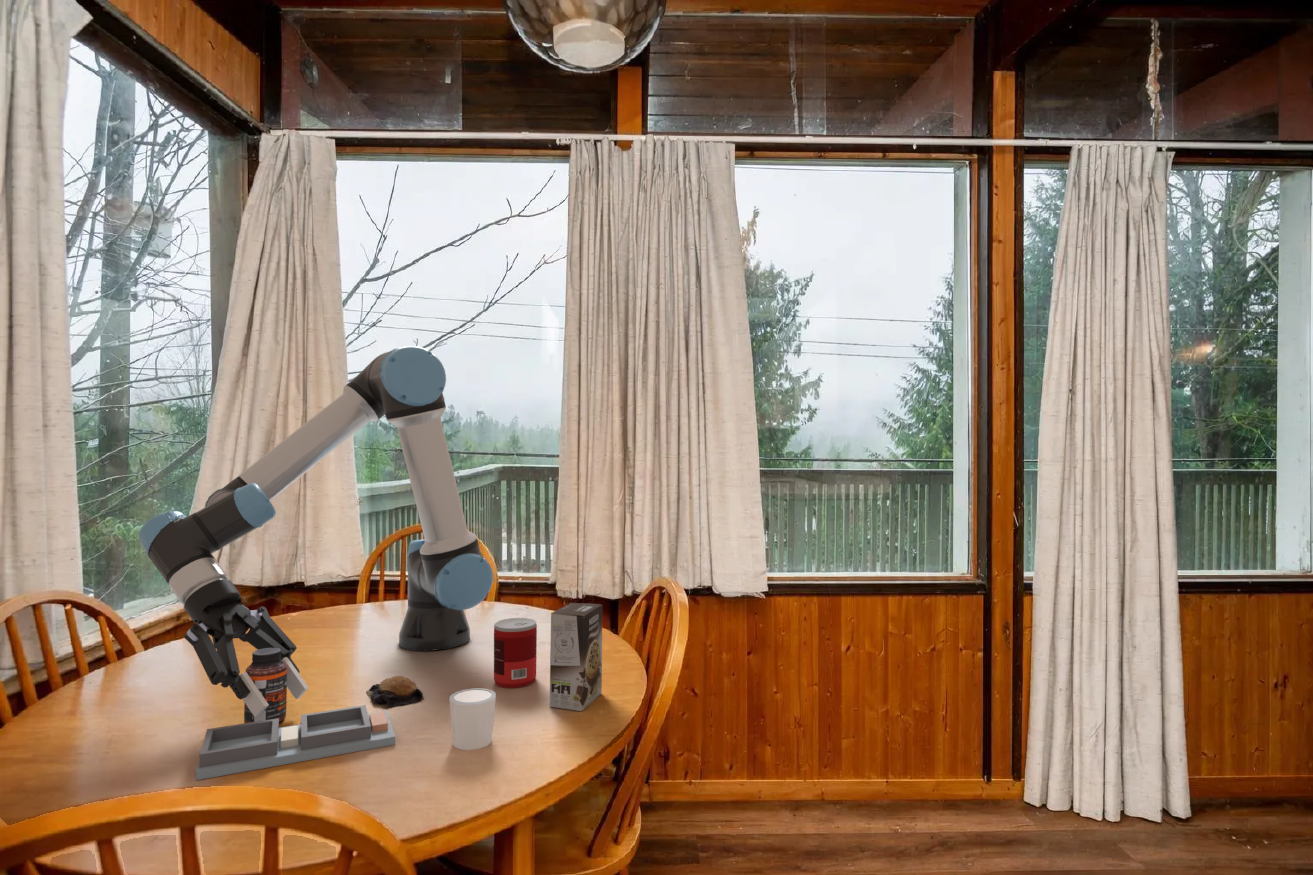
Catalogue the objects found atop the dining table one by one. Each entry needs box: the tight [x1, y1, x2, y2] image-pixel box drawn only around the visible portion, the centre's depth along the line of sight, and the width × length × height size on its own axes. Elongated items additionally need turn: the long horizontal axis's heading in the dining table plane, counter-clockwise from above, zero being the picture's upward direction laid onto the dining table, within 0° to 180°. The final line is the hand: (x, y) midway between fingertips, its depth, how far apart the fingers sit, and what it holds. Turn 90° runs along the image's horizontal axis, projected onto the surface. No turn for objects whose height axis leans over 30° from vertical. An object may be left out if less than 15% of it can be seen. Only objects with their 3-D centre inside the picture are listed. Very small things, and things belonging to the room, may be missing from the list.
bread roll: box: [365, 675, 425, 710], centre depth 125 cm, size 11×8×4 cm
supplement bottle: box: [243, 648, 288, 724], centre depth 113 cm, size 6×6×11 cm
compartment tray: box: [195, 704, 396, 781], centre depth 104 cm, size 25×11×3 cm, turn 117°
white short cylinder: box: [449, 687, 497, 751], centre depth 106 cm, size 7×7×7 cm
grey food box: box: [549, 602, 603, 712], centre depth 124 cm, size 9×6×16 cm
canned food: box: [493, 617, 538, 689], centre depth 133 cm, size 8×8×11 cm
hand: (282, 701), depth 112 cm, fingers open, 7 cm apart
